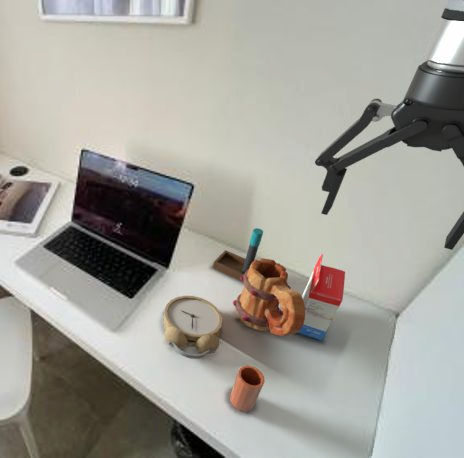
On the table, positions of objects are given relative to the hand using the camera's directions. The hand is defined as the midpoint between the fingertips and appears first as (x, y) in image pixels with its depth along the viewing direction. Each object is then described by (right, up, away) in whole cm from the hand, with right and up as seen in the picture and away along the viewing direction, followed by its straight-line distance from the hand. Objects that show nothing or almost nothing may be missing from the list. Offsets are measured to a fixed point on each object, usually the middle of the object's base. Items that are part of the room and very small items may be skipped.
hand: (382, 225), depth 50 cm
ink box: (+6, -19, +23) cm, 31 cm away
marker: (-2, -11, +34) cm, 36 cm away
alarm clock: (-18, -22, +24) cm, 38 cm away
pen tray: (-2, -11, +35) cm, 36 cm away
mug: (-5, -21, +23) cm, 32 cm away
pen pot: (-14, -30, +12) cm, 36 cm away
